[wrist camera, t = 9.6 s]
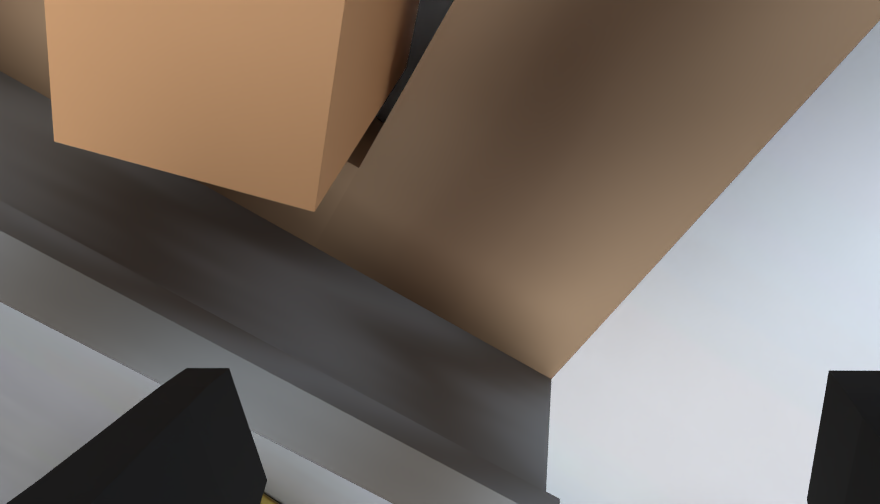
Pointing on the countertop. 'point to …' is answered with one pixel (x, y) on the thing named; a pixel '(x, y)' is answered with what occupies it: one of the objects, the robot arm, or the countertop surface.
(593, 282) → the socket block
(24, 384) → the countertop surface
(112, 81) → the peg
